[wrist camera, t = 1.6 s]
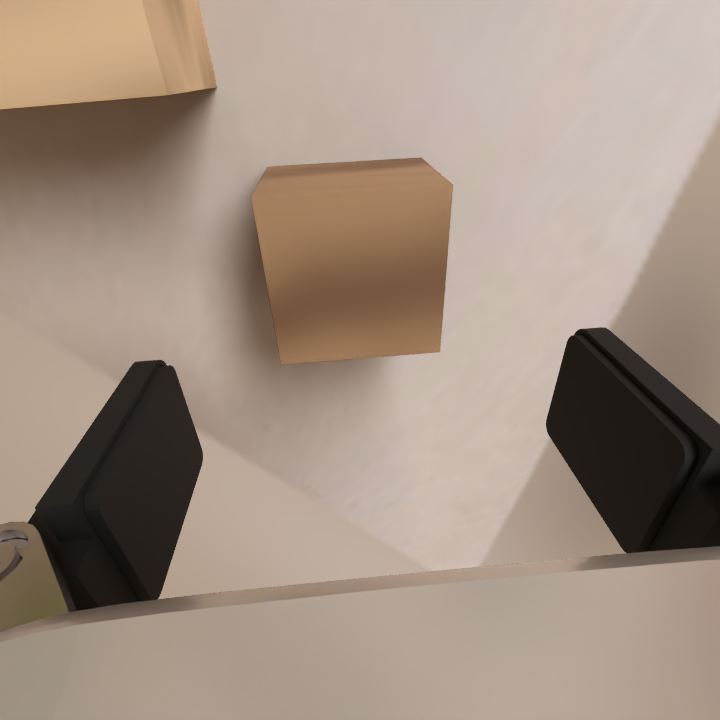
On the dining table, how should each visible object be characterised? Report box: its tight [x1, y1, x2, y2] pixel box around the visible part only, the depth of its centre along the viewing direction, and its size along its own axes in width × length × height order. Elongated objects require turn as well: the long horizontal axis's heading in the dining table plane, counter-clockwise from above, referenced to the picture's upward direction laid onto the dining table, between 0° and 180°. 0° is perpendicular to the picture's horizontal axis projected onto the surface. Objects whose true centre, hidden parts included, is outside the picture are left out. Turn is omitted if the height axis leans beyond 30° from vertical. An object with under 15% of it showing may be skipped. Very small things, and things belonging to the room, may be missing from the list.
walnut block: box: [251, 158, 453, 365], centre depth 16 cm, size 6×6×5 cm
